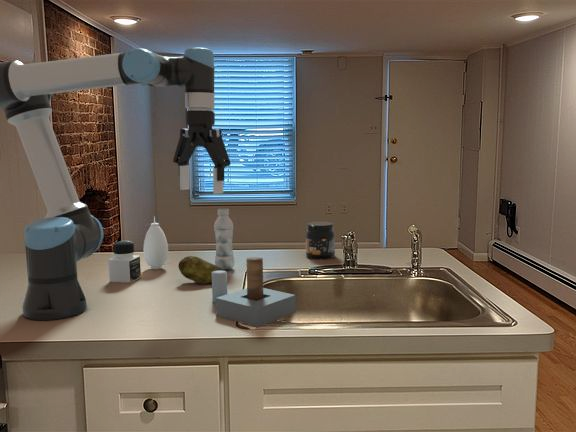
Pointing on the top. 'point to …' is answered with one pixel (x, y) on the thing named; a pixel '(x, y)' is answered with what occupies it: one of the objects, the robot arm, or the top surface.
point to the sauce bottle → (155, 246)
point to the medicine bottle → (124, 263)
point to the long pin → (254, 278)
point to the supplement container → (320, 240)
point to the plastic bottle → (224, 240)
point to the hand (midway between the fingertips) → (201, 191)
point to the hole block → (255, 307)
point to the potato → (197, 269)
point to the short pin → (219, 284)
